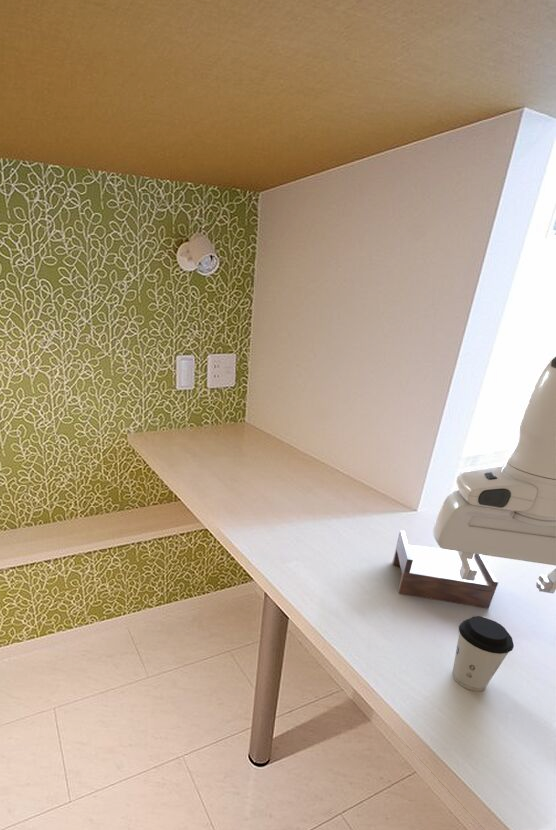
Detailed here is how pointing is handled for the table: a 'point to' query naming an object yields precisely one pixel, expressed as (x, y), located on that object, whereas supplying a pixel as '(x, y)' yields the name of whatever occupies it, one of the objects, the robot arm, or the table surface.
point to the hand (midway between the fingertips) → (504, 583)
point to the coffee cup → (480, 651)
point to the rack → (442, 575)
